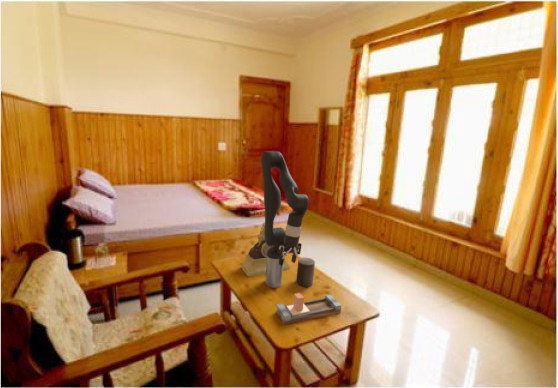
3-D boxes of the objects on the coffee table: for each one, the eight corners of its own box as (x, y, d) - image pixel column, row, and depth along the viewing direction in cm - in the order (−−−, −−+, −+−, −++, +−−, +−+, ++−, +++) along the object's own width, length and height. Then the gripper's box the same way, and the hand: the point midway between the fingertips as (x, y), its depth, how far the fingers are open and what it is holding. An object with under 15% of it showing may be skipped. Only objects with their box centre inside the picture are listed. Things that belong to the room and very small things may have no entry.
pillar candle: (298, 287, 165) (300, 262, 162) (294, 278, 174) (296, 255, 171) (315, 286, 167) (317, 262, 164) (310, 278, 176) (312, 254, 173)
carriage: (286, 308, 142) (287, 293, 140) (302, 305, 145) (304, 290, 144) (292, 317, 136) (293, 301, 134) (309, 313, 139) (310, 298, 137)
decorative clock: (248, 277, 174) (250, 229, 167) (241, 267, 185) (242, 222, 178) (289, 268, 187) (292, 224, 180) (280, 260, 198) (282, 218, 191)
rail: (276, 311, 142) (276, 304, 141) (329, 301, 153) (330, 294, 152) (284, 324, 133) (284, 316, 132) (340, 312, 144) (341, 305, 143)
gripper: (297, 229, 152) (292, 258, 155) (276, 232, 143) (271, 262, 146) (307, 234, 147) (302, 264, 150) (287, 237, 137) (281, 269, 141)
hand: (287, 263), depth 148 cm, fingers open, 8 cm apart
